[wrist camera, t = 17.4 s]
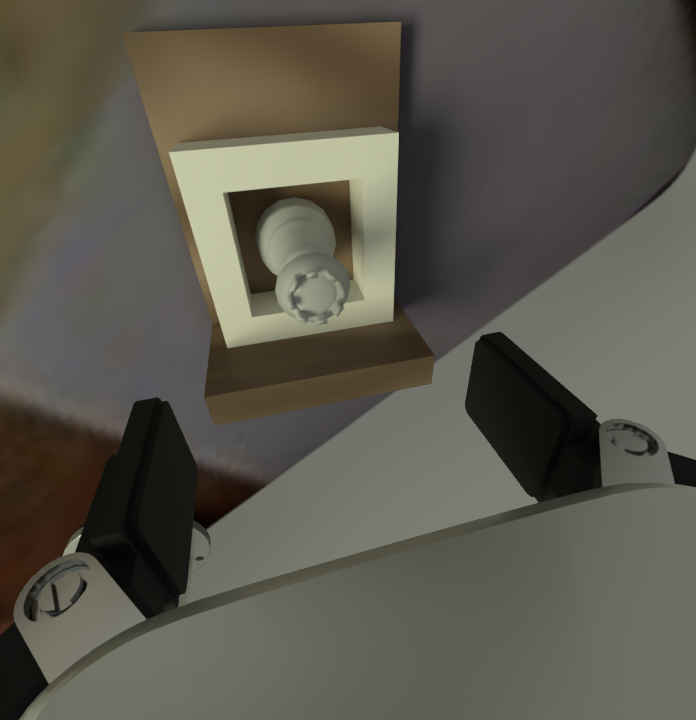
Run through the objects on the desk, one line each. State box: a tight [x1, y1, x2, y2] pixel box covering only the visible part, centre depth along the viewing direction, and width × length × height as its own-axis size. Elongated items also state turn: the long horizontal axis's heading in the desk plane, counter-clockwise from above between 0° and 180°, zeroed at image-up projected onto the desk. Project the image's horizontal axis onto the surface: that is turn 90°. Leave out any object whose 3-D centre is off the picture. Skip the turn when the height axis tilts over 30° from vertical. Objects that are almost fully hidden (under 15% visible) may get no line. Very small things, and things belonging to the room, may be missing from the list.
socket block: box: [169, 126, 399, 348], centre depth 20 cm, size 10×10×3 cm
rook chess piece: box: [255, 197, 350, 326], centre depth 19 cm, size 4×4×8 cm
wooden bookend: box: [121, 22, 434, 425], centre depth 19 cm, size 16×12×8 cm
